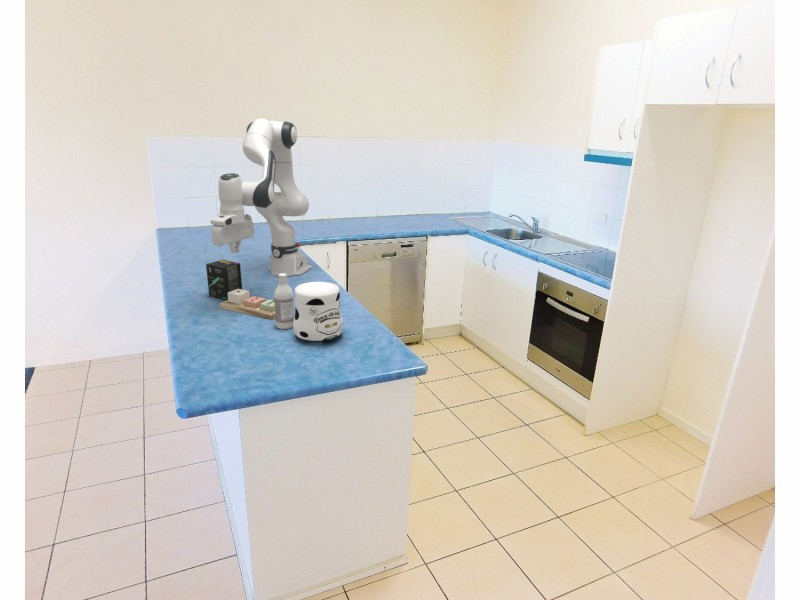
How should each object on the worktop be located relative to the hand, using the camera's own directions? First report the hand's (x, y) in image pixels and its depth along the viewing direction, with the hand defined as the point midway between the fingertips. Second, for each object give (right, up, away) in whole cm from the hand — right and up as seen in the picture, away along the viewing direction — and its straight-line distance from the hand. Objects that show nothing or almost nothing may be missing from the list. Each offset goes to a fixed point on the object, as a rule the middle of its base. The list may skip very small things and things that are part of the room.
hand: (235, 252), depth 209 cm
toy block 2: (+7, -22, +4) cm, 24 cm away
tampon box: (-10, -17, +18) cm, 27 cm away
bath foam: (+22, -29, -11) cm, 38 cm away
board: (+7, -22, +4) cm, 24 cm away
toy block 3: (+14, -24, +1) cm, 27 cm away
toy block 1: (-1, -19, +7) cm, 20 cm away
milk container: (+36, -32, -19) cm, 51 cm away
